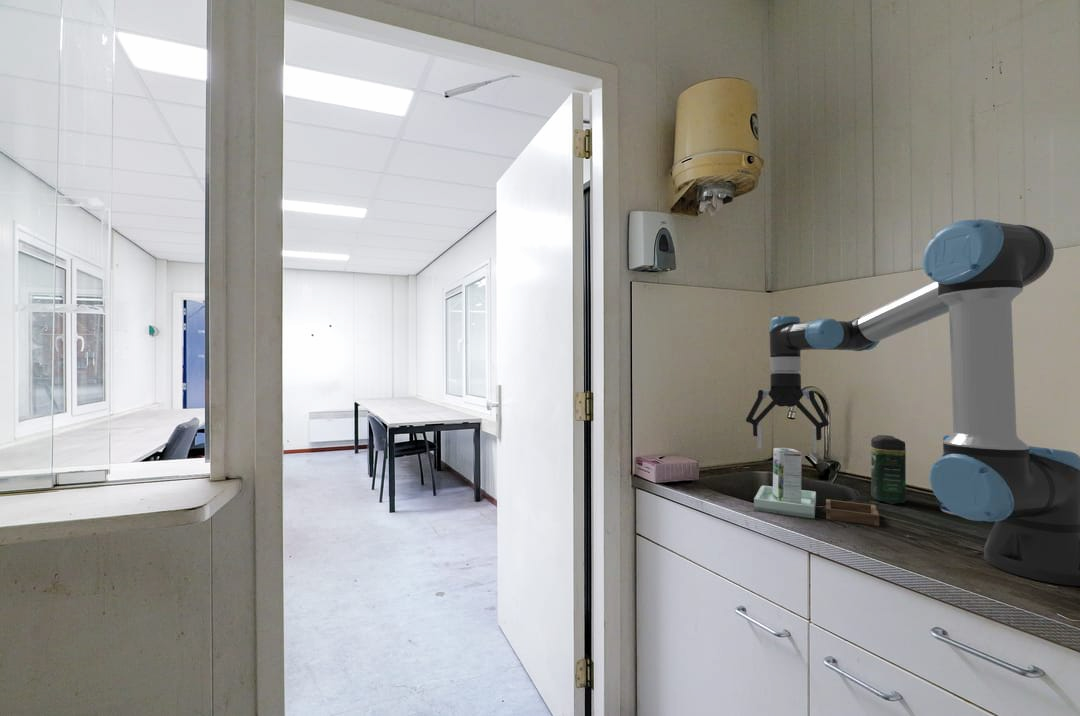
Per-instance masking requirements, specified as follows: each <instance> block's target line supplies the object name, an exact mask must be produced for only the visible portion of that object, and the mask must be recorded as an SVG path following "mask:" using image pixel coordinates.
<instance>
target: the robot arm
mask: <svg viewBox="0 0 1080 716" xmlns="http://www.w3.org/2000/svg"><path fill="white" fill-rule="evenodd" d="M1054 253H1055V250H1054V246H1053V243H1052V241H1051V239H1050V238H1049V236H1048V235H1047V234H1045V233H1044V232H1043V231H1041V230H1039V229H1037V228H1035V227H1032V226H1029V225H1025V224H1024V225H1022V224H1013V223H1012V224H1011V223H1006V222H1004V223H1003V222H1000V221H999V222H998V221H994V220H990V219H963V220H958V221H956V222H953V223H951V224H948V225H947V226H945V227H943V228H942V229H940V230H939V231H938V232H937V233H936V234H935V236H934V237H933V238H932V239H930V241H929V242H928V244H927V245H926V247H925V249H924V251H923V256H922V268H923V271H924V273H925V274H926V276H927V277H929V278H930V279H931V280H932V281H930V282H928V283H926V284H925V285H922V286H920V287H918V288H916V289H914V290H912V291H910V292H908V293H906V294H904V295H902V296H900V297H898V298H896V299H894V300H892V301H889V302H887V303H885V304H883V305H881V306H879V307H877V308H875V309H872V310H871V311H869V312H867V313H865V314H863V315H860V316H859V317H856V318H854V319H852V320H849V321H840V320H836V319H835V318H816V319H814V320H813V319H812V320H807V321H801V319H800V317H799V316H796V315H784V316H783V315H781V316H775V317H772V318H771V319H770V322H769V331H768V333H769V354H770V356H769V361H770V363H769V364H770V365H769V366H770V367H769V369H770V370H769V371H770V372H772V373H771V374H770V377H769V378H770V380H769V381H770V389H769V390H764V389H758V392H757V399H756V400H755V402H754V403H753V405H752V407H751V409H750V411H749V413H748V415H747V417H746V418H745V422H746V423H750V424H752V436H753V437H757V438H756V439H757V445H756V446H757V450H761V449H762V424H759V423H760V422H761V421H762V420H763V419H764V418H765V417H766V416H767V415H768V414H769V412H771V410H772V409H773V408H774V407H776V406H777V407H788V408H789V407H790V408H793V407H797V408H798V410H800V411H801V412H802V414H803V415H805V417H806V418H807V419H808V420H809V421H810V422H811V423H812V424H813V425H814V426H815V427H814V426H813V428H812V452H813V454H817V453H818V449H817V448H818V447H817V445H818V444H817V441H821V440H822V428H824V427H827V426H829V424H830V423H829V420H828V419H827V417H826V415H825V413H824V412H823V410H822V408H821V406H820V405H819V403H818V401H817V400H816V395H815V391H813V390H809V391H803V390H802V375H801V373H800V372H801V368H802V367H801V363H802V362H801V351H808V350H811V351H812V350H821V351H822V350H824V351H829V350H830V351H831V350H832V351H854V352H862V351H870V350H872V349H875V348H876V347H877V346H878V345H879V343H880V342H881V341H882V340H884V339H887V338H889V337H892V336H894V335H896V334H900V333H902V332H904V331H907V330H908V329H911V328H914V327H916V326H918V325H920V324H923V323H926V322H928V321H931V320H933V319H936V318H938V317H940V316H942V315H945V314H949V315H948V317H949V318H948V319H949V346H950V347H949V348H950V349H949V350H950V370H951V371H950V377H951V379H950V380H951V381H950V382H951V401H952V402H951V407H952V428H953V429H952V433H951V434H950V435H948V436H949V437H948V438H946V439H945V440H944V441H942V448H943V449H942V450H943V451H942V453H943V454H942V455H943V457H942V456H941V457H939V458H938V459H937V460H936V462H933V463H932V465H931V466H930V467H931V468H930V469H929V474H928V475H929V484H930V488H931V490H932V493H933V494H934V496H935V497H936V498H937V500H938V501H939V502H940V503H941V502H942V503H943V504H944V506H945V507H946V508H947V509H948V510H950V511H951V512H953V513H954V514H956V515H958V516H957V517H960V518H964V519H966V520H968V521H969V520H970V521H976V522H977V521H978V522H989V523H990V522H991V523H992V522H994V523H993V526H992V528H991V531H990V532H989V533H990V534H989V535H988V537H987V539H986V542H985V543H984V548H983V558H984V561H985V562H987V563H988V564H989V565H991V566H992V567H995V568H997V569H999V570H1001V571H1005V572H1008V573H1010V574H1014V575H1016V576H1019V577H1024V578H1027V579H1030V580H1031V579H1032V580H1036V581H1039V582H1044V583H1049V584H1050V583H1051V584H1056V585H1064V586H1071V587H1072V586H1074V587H1080V455H1078V454H1077V453H1076V452H1074V451H1069V450H1064V449H1054V448H1047V447H1040V446H1031V445H1028V444H1027V443H1025V442H1024V440H1023V441H1022V439H1020V438H1019V437H1018V434H1017V414H1016V413H1017V412H1016V389H1015V366H1014V364H1015V362H1014V361H1015V360H1014V340H1013V339H1014V337H1013V336H1014V335H1013V334H1014V333H1013V315H1012V314H1013V310H1012V309H1013V308H1012V307H1013V305H1012V302H1013V301H1014V299H1016V297H1017V296H1019V295H1020V294H1021V293H1022V292H1024V288H1025V287H1027V286H1028V285H1031V284H1032V283H1034V282H1035V281H1037V280H1039V279H1040V278H1042V276H1044V275H1045V273H1046V272H1047V271H1048V270H1049V268H1050V267H1051V264H1052V263H1053V261H1054ZM767 396H769V397H770V399H771V402H770V403H769V404H768V405H767V406H766V407H765V408H764V409H763V410H762V412H760V413H759V414H758V416H757V417H756V418H755V419H754V416H755V414H756V412H757V411H758V409H759V407H760V405H761V404H762V402H763V400H764V399H765V398H767ZM803 397H805V398H806V399H807V400H809V401H810V404H811V405H812V406H813V408H814V410H815V411H816V413H817V415H818V418H819V419H820V421H819V420H817V418H816V417H815V416H814V415H813V414H812V413H811V412H810V411H809V410H808V409H807V408H806V406H804V405H803V403H802V402H801V401H800V400H801V399H802V398H803ZM956 515H955V516H956Z"/></svg>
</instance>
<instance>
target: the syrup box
mask: <svg viewBox="0 0 1080 716" xmlns="http://www.w3.org/2000/svg"><path fill="white" fill-rule="evenodd" d="M772 455H773V456H772V457H773V459H772V461H773V463H772V464H773V465H772V468H773V470H772V487H773V500H775V501H781V502H789V503H797V504H801V490H802V466H803V465H802V459H803V458H802V455H803V454H802V451H799V450H796V449H794V448H788V447H774V448H773V454H772Z"/></svg>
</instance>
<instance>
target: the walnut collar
mask: <svg viewBox="0 0 1080 716" xmlns="http://www.w3.org/2000/svg"><path fill="white" fill-rule="evenodd" d="M825 519H826V520H833V521H839V522H847V523H855V524H862V525H868V526H876V527H880V515H879V511H878V509H877V506H876V504H871V503H862V502H861V503H860V502H854V501H844V500H838V499H829V498H828V499H827V498H826V499H825Z"/></svg>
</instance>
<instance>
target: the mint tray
mask: <svg viewBox="0 0 1080 716" xmlns="http://www.w3.org/2000/svg"><path fill="white" fill-rule="evenodd" d="M816 504H817V492H816V491H813V490H806V489H805V490H804V489H801V504H797V503H789V502H781V501H775V500H773V486H771V485H770V486H769V485H764V484H763V485H761V486H760V488H759V489H758V491H757V493H756V495H755V496H754V498H753V511H757V512H763V513H770V512H772V514H777V513H778V515H785V516H791V517H792V516H793V517H798V518H799V517H801V518H807V519H813V520H815V517H816V516H815V515H816V506H817V505H816Z"/></svg>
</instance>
